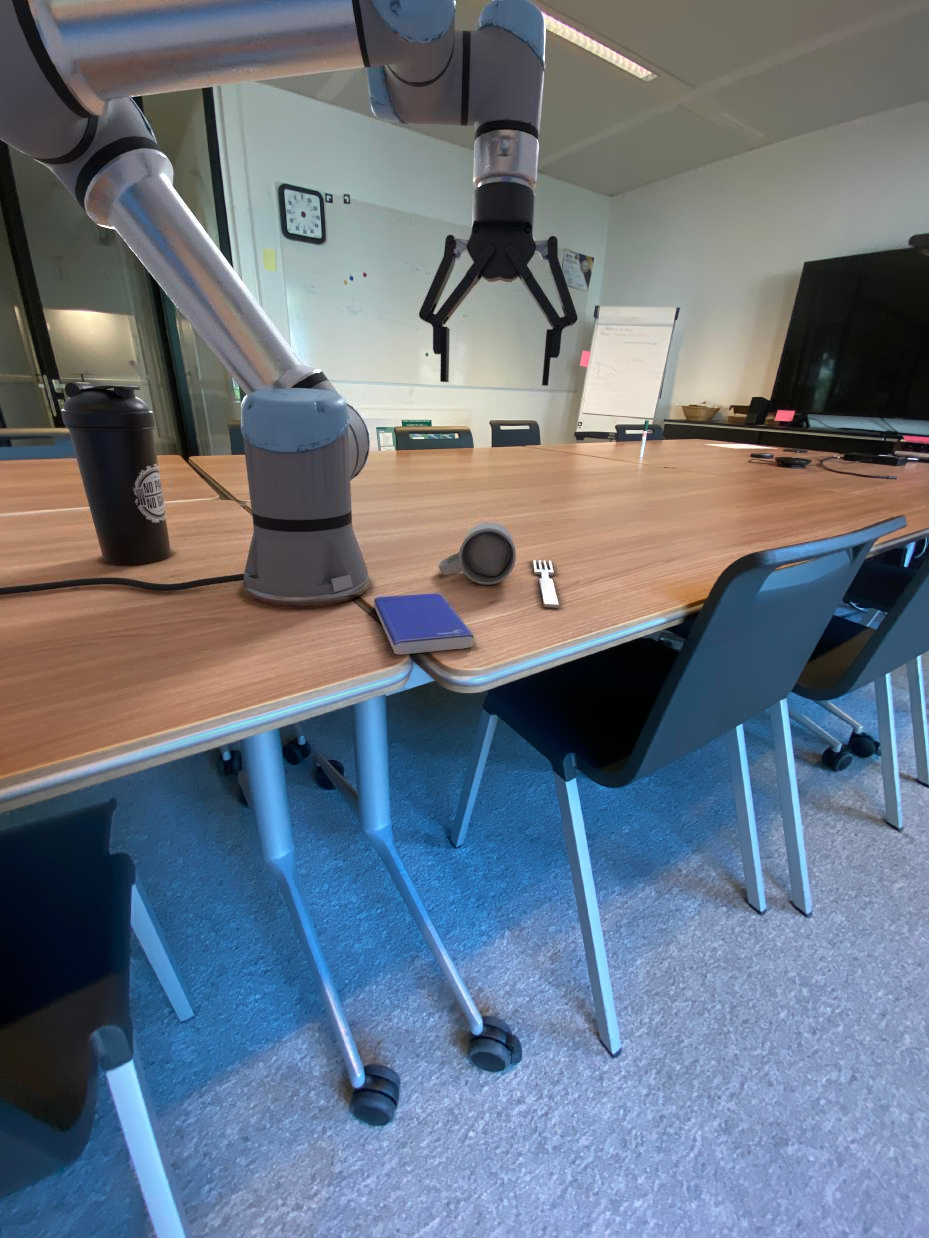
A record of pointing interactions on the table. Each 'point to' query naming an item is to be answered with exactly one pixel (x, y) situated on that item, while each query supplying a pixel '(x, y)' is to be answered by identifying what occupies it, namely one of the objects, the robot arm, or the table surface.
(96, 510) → the water bottle
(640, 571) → the table surface
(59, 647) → the table surface
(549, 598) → the fork
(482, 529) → the ceramic mug
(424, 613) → the hard drive
